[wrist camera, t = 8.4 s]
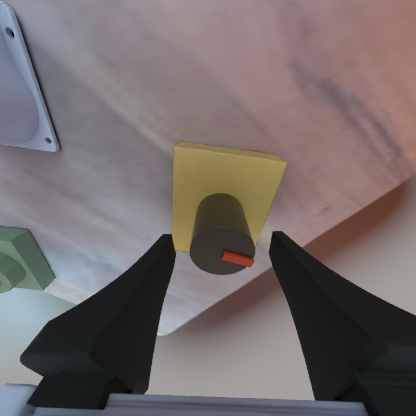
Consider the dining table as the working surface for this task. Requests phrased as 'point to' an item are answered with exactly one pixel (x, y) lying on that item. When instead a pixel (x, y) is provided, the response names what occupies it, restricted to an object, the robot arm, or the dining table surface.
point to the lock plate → (221, 184)
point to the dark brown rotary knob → (221, 236)
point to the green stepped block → (22, 261)
